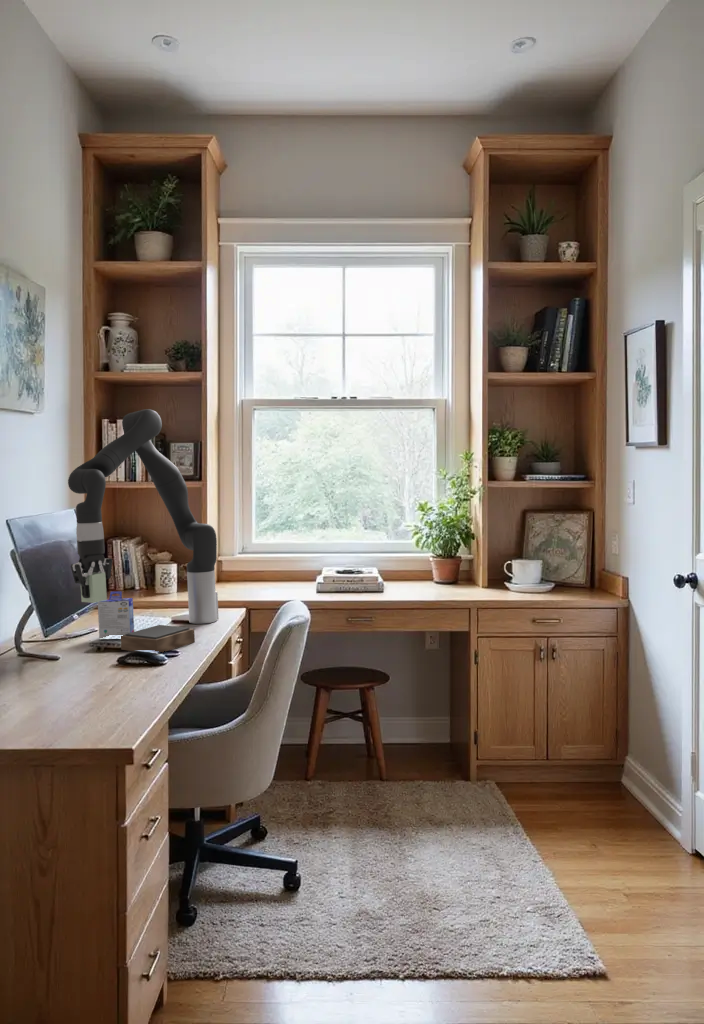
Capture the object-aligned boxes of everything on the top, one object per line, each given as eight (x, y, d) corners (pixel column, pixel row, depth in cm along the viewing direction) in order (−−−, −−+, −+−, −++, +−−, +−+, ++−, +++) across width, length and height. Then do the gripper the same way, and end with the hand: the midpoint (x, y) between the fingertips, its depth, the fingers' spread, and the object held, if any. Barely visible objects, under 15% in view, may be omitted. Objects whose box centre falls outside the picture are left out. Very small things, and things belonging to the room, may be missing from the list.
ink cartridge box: (135, 635, 259) (133, 590, 258) (131, 639, 253) (129, 593, 252) (103, 637, 258) (101, 591, 258) (99, 641, 253) (96, 594, 252)
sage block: (94, 598, 243) (93, 572, 243) (106, 599, 241) (105, 572, 240) (81, 601, 239) (79, 574, 238) (93, 602, 237) (92, 575, 236)
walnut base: (159, 638, 254) (159, 623, 253) (194, 642, 247) (194, 627, 246) (121, 649, 240) (120, 634, 240) (157, 654, 233) (156, 638, 233)
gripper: (100, 535, 247) (103, 591, 248) (61, 540, 234) (65, 599, 236) (118, 535, 243) (121, 592, 244) (79, 541, 231) (83, 601, 232)
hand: (93, 595), depth 240 cm, fingers closed on sage block, 5 cm apart
